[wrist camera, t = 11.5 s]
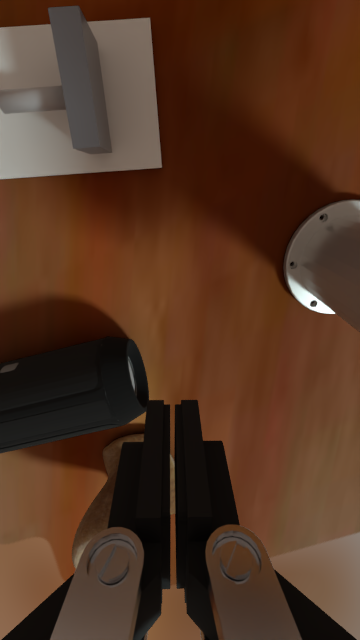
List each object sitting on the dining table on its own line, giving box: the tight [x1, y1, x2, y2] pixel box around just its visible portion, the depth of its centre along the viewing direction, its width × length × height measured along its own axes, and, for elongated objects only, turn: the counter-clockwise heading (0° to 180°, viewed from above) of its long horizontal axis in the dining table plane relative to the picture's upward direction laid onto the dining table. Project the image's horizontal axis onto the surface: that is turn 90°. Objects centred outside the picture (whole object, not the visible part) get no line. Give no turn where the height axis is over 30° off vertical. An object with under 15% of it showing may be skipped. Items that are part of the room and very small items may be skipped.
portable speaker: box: [0, 337, 149, 453], centre depth 36 cm, size 26×10×10 cm, turn 104°
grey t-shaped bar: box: [0, 6, 112, 154], centre depth 25 cm, size 8×8×6 cm
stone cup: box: [72, 434, 175, 568], centre depth 41 cm, size 15×12×15 cm
